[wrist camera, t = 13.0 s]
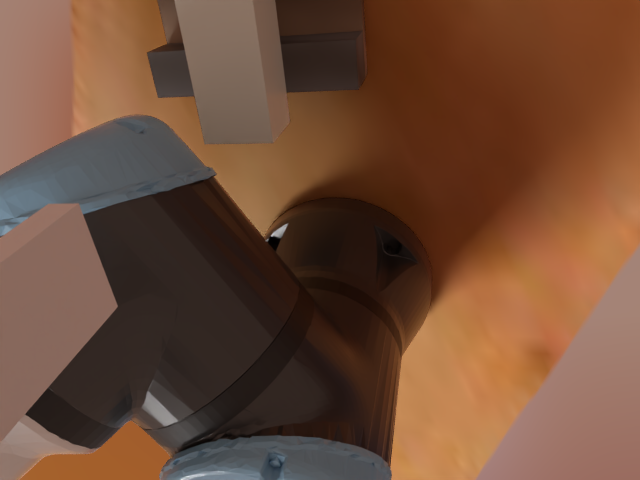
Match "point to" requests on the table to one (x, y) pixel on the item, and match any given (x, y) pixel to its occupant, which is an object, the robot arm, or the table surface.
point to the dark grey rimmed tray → (283, 47)
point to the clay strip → (235, 69)
